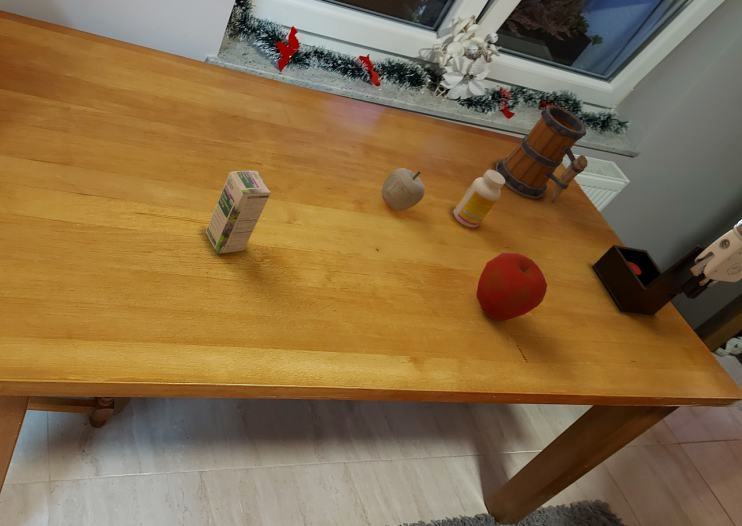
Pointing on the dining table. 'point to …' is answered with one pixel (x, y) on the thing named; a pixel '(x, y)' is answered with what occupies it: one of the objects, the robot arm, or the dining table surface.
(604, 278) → the black flip-top box
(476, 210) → the supplement bottle
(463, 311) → the dining table surface
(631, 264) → the red black block
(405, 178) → the decorative object
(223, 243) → the syrup box
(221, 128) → the dining table surface
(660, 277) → the lid
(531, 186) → the mug
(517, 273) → the apple
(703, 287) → the robot arm
